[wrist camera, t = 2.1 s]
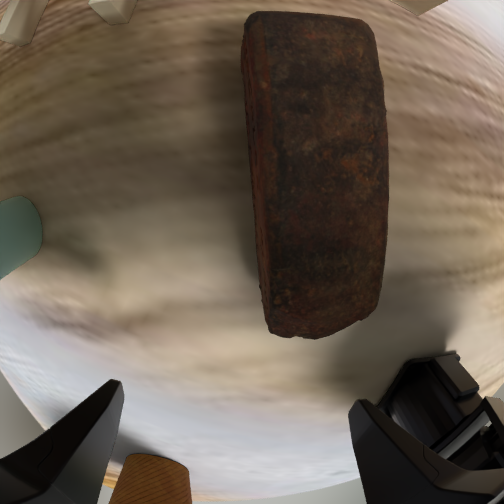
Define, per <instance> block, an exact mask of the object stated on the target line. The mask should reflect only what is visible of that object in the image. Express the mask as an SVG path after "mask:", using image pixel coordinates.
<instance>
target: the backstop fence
mask: <svg viewBox="0 0 504 504" xmlns="http://www.w3.org/2000/svg"><path fill="white" fill-rule="evenodd" d="M48 1H49V0H11V2H10V4H9V6H8V8H7V10H6V12H5V14H4V16H3V18H2V20H1V22H0V40H2V41H5V42H8V43H11V44H14V45H16V46H19V47H20V46H23V45H26V44H29V43H31V40H32V37H33V35H34V32H35V30H36V27H37V25H38V23H39V20H40V18H41V16H42V14H43V12H44V9H45V7H46V5H47V3H48ZM390 1H392V2H394V3H396V4H398V5H400V6H402V7H403V8H405V9H407V10H409V11H410V12H412V13H414V14H416V15H417V16H419V15H421V14H423V13H425V12H427V11H428V10H430V9H432V8H434V7H436V6H438V5H440V4H442V3H444V2H446V1H448V0H390ZM136 3H137V0H90V1H89V3H88V5H89V6H90V7H92V8H93V9H94V10H95V11H96V12H97V13H98V14H99V15H100V16H101V17H102V18H103V19H104V20H105V21H106V22H107V23H108V24H109V25H113V24H122V23H128V22H129V20H130V17H131V15H132V12H133V10H134V7H135V5H136Z"/></svg>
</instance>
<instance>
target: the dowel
mask: <svg viewBox="0 0 504 504" xmlns="http://www.w3.org/2000/svg"><path fill="white" fill-rule="evenodd" d="M41 244H42V224H41V220H40V217H39V214H38V212H37V210H36V208H35V206H34V205H33V204H32V202H31V201H30V200H28V199H27V198H25V197H23V196H16V197H13V198H10V199H7V200H3V201H1V202H0V280H1V279H2V278H4V277H5V276H6V275H8V274H9V273H10V272H12V271H13V270H15V269H16V268H18V267H19V266H20V265H22V264H23V263H25V262H26V261H28V260H29V259H31V258H32V257H34V256H35V255H36V254H37V253H38V251H39V249H40V247H41Z"/></svg>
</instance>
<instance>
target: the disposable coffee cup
mask: <svg viewBox="0 0 504 504" xmlns="http://www.w3.org/2000/svg"><path fill="white" fill-rule="evenodd" d="M109 504H192V498H191V488H190V478H189V471H188V469H187V468H185V467H184V466H182V465H181V464H179V463H177V462H174V461H171V460H169V459H166V458H162V457H158V456H153V455H147V454H132V455H129V456H127V458H126V460H125V463H124V465H123V468H122V471H121V473H120V476H119V478H118V481H117V483H116V486H115V488H114V491H113V493H112V496H111V499H110V501H109Z"/></svg>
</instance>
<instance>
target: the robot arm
mask: <svg viewBox="0 0 504 504" xmlns="http://www.w3.org/2000/svg"><path fill="white" fill-rule="evenodd" d="M459 361H460V356H459V355H458V354H452V355H445V356H438V357H429V358H420V359H411V360H409V361H407V362H406V363H405V365H404V366H403V368H402V370H401V371H400V373H399V375H398V376H397V378H396V379H395V381H394V383H393V384H392V386H391V387H390V389H389V390H388V392H387V393H386V395H385V396H384V398H383V399H382V401H381V402H380V404H379V405H378V406H377V407H376V406H375V405H373V404H372V403H371V402H370V401H369V400H367V399H358V400H356V401H355V403H354V405H353V406H352V408H351V409H350V411H349V413H348V418H349V425H350V432H351V439H352V445H353V449H354V453H355V457H356V461H357V465H358V469H359V473H360V477H361V481H362V485H363V489H364V494H365V497H366V502H367V504H504V402H503V401H502V400H501V399H500V398H493V397H488V396H485V397H484V399H482V398H481V396H480V395H479V394H478V393H477V392H478V390H479V385H478V384H477V382H476V381H475V380H474V379H473V378H472V376H471V375H470V374H469V373H468V372H467V371H466V369H465V368H464V367H463V366H462V365H461V364H460V363H459ZM123 403H124V391H123V386H122V383H121V381H118V380H114V379H110V380H109V381H107V382H106V383H105V384H104V385H102V386H101V387H100V388H99V389H97V390H96V391H95V392H94V393H93V394H91V395H90V396H89V397H88V398H86V399H85V400H84V401H83V402H81V403H80V404H79V405H78V406H76V407H75V408H74V409H73V410H71V411H70V412H69V413H68V414H66V415H65V416H64V417H63V418H61V419H60V420H59V421H58V422H56V423H55V424H54V425H53V426H51V427H50V429H48V430H46V431H45V432H44V433H43V434H41V435H40V436H38V437H37V438H36V439H35V440H33V441H31V442H30V443H28V444H27V445H25V446H23V447H21V448H20V449H18V450H16V451H14V452H13V453H11V454H9V455H7V456H5V457H3V458H1V459H0V504H97V502H98V498H99V494H100V490H101V487H102V483H103V480H104V476H105V473H106V469H107V466H108V462H109V459H110V456H111V452H112V449H113V446H114V443H115V440H116V437H117V433H118V428H119V423H120V418H121V413H122V408H123ZM489 421H491V423H492V424H491V425H490V426H489V427H487V426H485V425H486V424H487V423H488V422H489Z"/></svg>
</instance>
